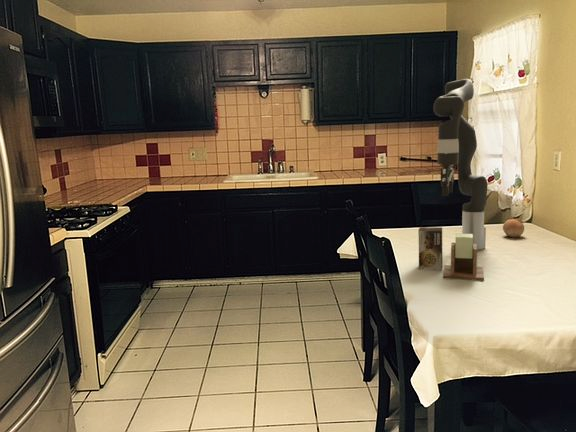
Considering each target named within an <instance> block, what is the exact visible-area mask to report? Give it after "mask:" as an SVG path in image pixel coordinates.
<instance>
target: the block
mask: <svg viewBox="0 0 576 432" xmlns="http://www.w3.org/2000/svg"><path fill="white" fill-rule="evenodd" d="M454 243H455V258H471V259H472V253H473V235H472V234H462V233H455V241H454Z"/></svg>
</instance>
